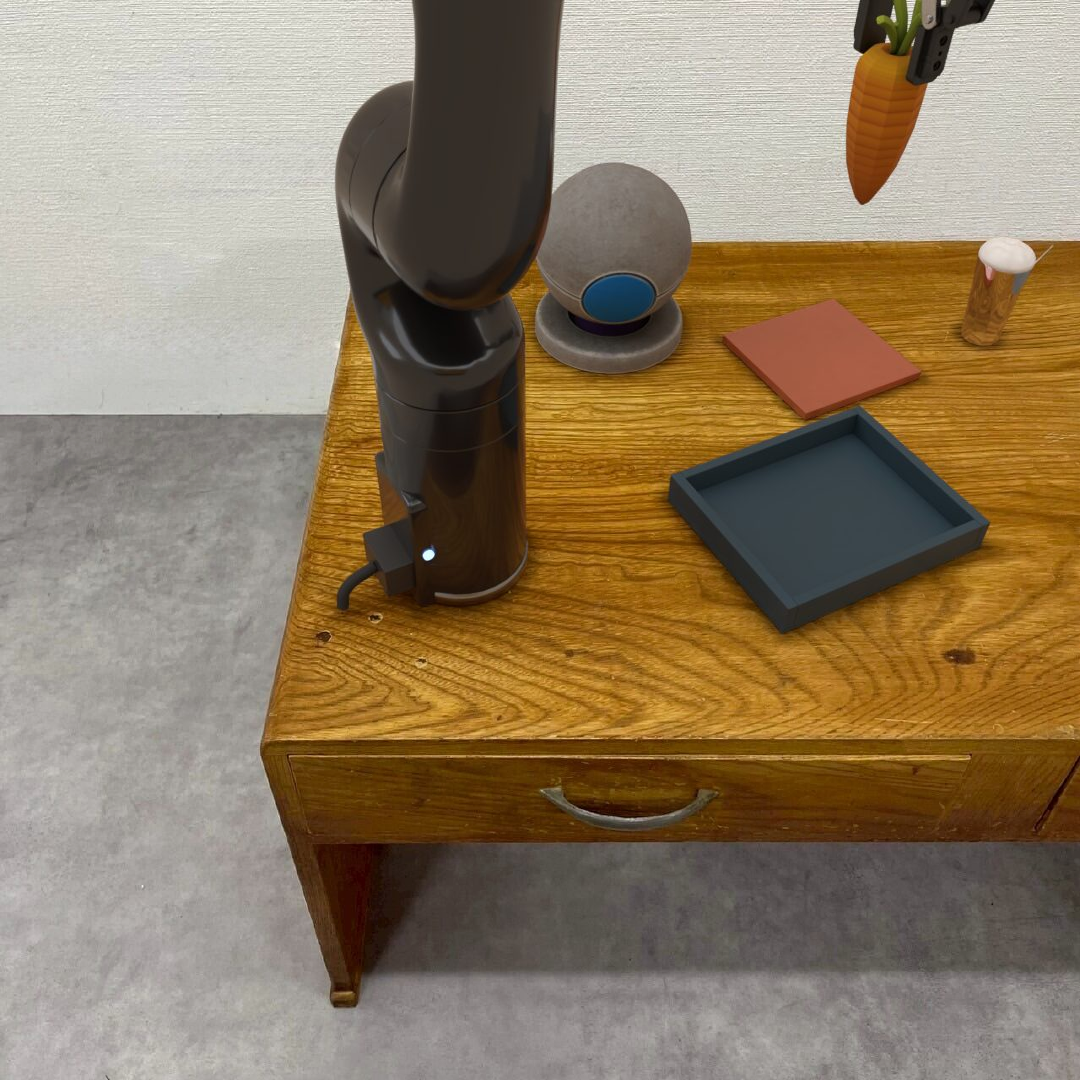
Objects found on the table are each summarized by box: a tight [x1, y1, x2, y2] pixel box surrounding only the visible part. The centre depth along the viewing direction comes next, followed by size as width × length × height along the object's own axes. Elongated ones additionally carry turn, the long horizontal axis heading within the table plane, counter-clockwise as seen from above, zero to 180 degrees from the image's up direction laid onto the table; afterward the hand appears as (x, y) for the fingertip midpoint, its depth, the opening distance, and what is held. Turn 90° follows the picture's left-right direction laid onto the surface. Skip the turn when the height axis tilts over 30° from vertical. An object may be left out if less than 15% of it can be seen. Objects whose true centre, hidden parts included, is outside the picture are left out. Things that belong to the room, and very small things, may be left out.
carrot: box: [845, 0, 929, 206], centre depth 78 cm, size 5×5×15 cm
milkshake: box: [960, 236, 1054, 347], centre depth 95 cm, size 4×5×10 cm
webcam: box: [534, 162, 693, 375], centre depth 94 cm, size 13×13×15 cm
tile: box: [721, 298, 922, 421], centre depth 96 cm, size 12×12×1 cm
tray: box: [667, 405, 991, 635], centre depth 82 cm, size 18×15×3 cm
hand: (894, 64), depth 75 cm, fingers closed on carrot, 5 cm apart
